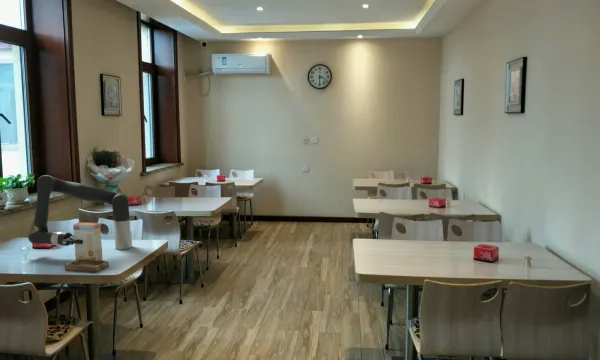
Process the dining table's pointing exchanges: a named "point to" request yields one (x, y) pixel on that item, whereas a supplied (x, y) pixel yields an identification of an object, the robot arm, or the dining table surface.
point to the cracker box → (88, 241)
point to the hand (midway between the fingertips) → (86, 240)
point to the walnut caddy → (86, 265)
